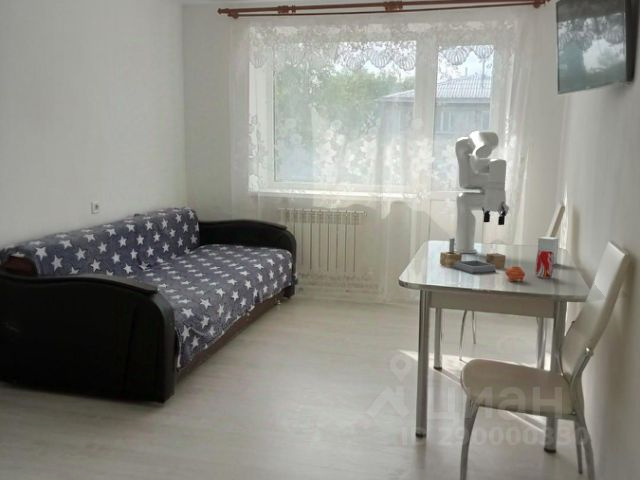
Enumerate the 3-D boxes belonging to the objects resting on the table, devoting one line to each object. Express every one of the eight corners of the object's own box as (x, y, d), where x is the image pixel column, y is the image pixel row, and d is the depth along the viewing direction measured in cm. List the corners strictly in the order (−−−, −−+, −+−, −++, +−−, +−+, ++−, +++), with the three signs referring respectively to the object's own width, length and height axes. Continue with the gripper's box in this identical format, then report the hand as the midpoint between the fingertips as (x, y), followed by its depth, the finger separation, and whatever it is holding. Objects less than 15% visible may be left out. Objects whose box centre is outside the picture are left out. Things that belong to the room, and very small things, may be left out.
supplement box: (557, 263, 287) (559, 237, 285) (551, 265, 282) (553, 239, 280) (542, 261, 292) (544, 236, 290) (536, 263, 287) (538, 237, 285)
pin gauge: (450, 264, 276) (451, 238, 274) (447, 263, 277) (448, 238, 275) (454, 263, 276) (455, 238, 274) (451, 262, 278) (452, 237, 276)
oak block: (439, 264, 279) (440, 252, 278) (451, 263, 282) (452, 251, 281) (448, 267, 272) (449, 254, 271) (461, 266, 275) (461, 254, 274)
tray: (454, 268, 271) (454, 261, 270) (476, 266, 276) (477, 260, 275) (472, 273, 259) (472, 267, 258) (495, 271, 264) (496, 265, 264)
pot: (500, 278, 251) (504, 262, 250) (517, 282, 251) (522, 267, 251) (507, 281, 243) (512, 266, 242) (525, 286, 244) (530, 270, 243)
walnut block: (485, 266, 277) (486, 253, 276) (495, 265, 279) (496, 253, 278) (494, 268, 271) (495, 256, 271) (504, 268, 274) (505, 255, 273)
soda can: (544, 279, 252) (546, 251, 250) (531, 275, 258) (533, 248, 256) (555, 277, 255) (558, 250, 253) (542, 274, 261) (545, 247, 259)
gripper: (477, 185, 276) (474, 221, 278) (503, 188, 260) (500, 226, 263) (489, 185, 279) (487, 221, 281) (516, 187, 263) (513, 225, 266)
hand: (493, 223), depth 272 cm, fingers open, 9 cm apart
